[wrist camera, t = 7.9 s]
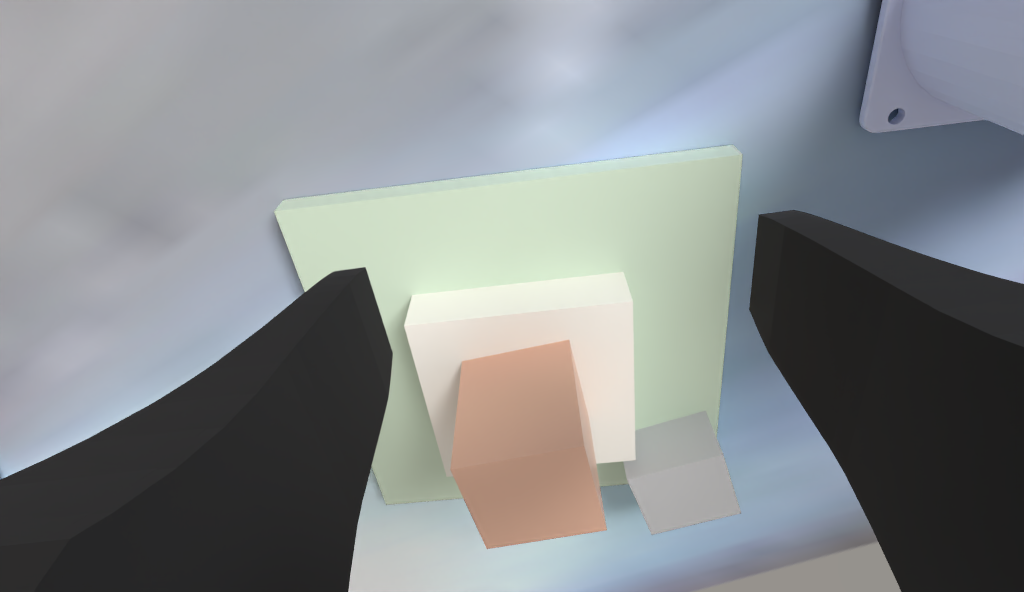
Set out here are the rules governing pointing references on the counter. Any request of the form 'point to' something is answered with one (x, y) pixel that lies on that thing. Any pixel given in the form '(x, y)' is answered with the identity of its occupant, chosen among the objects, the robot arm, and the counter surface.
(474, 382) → the salmon pink block
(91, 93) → the counter surface
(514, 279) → the baseplate
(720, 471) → the grey brick
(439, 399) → the cream square slab
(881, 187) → the counter surface
